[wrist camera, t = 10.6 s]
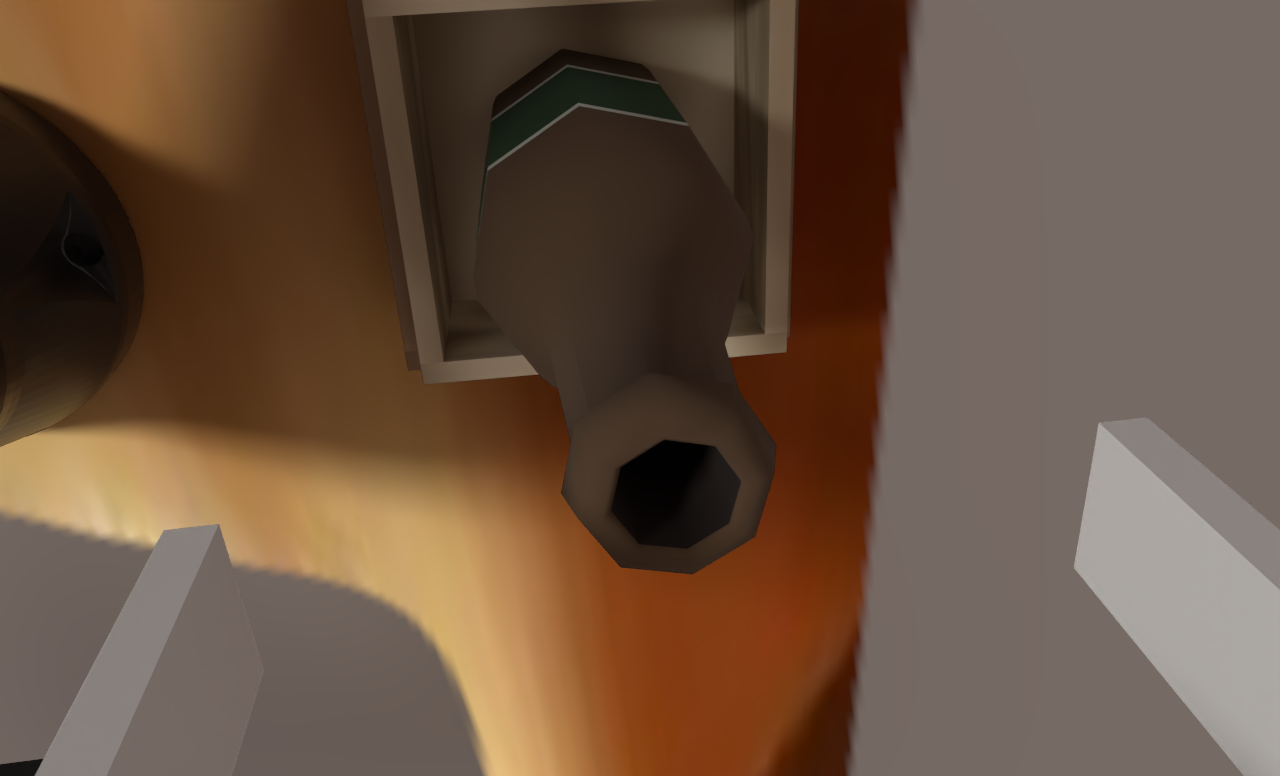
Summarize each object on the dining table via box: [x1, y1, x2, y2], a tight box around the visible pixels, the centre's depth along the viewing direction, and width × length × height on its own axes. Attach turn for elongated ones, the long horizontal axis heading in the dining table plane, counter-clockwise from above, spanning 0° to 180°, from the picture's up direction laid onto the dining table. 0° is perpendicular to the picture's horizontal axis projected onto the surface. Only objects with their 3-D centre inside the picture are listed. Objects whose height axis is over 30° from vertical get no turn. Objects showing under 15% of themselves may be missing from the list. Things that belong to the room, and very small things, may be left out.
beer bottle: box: [473, 49, 776, 574], centre depth 27 cm, size 8×8×24 cm
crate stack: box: [346, 0, 799, 385], centre depth 37 cm, size 15×15×9 cm
